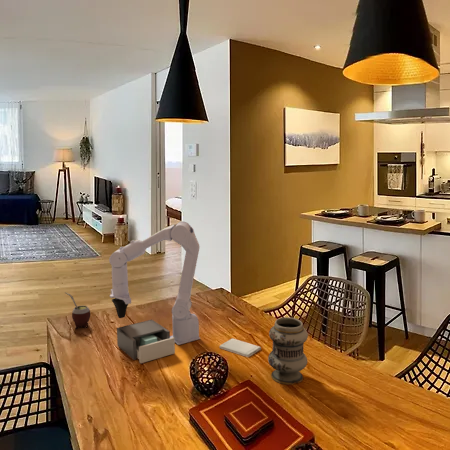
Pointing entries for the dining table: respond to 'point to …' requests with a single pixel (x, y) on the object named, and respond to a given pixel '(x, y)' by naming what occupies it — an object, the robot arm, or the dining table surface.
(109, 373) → the dining table surface
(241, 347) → the hard drive
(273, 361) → the apothecary jar
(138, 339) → the tray
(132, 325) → the housing
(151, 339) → the teal block
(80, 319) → the mate gourd
